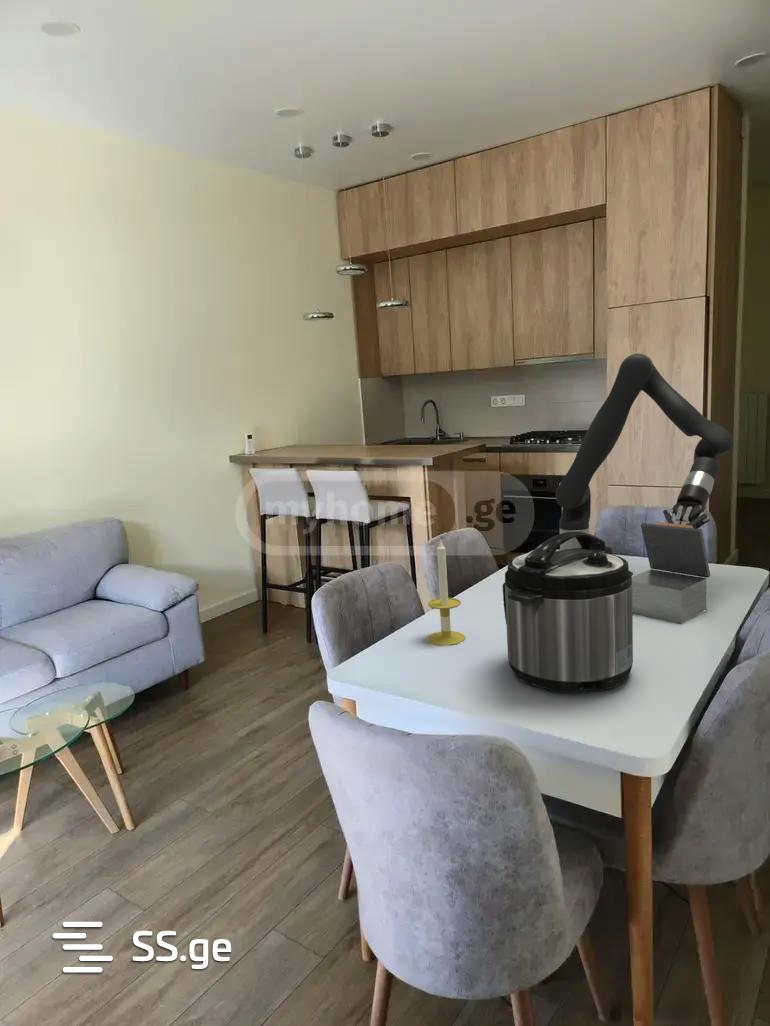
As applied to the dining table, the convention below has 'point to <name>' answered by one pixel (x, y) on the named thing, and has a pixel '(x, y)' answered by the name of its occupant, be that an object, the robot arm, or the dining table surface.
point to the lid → (676, 548)
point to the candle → (444, 606)
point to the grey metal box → (668, 595)
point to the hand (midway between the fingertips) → (675, 541)
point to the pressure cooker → (569, 615)
